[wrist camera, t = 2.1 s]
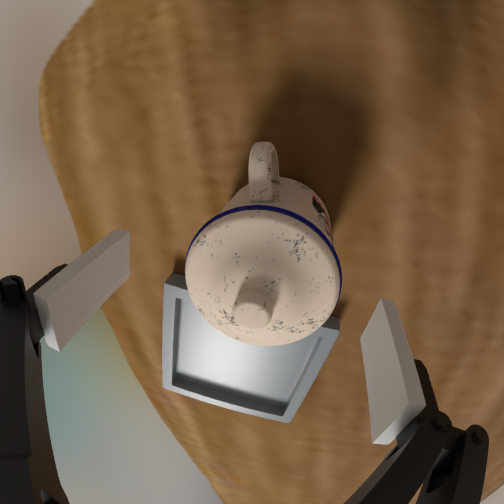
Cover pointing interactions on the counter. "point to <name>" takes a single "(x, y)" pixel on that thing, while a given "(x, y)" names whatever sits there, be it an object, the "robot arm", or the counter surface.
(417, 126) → the counter surface
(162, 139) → the counter surface
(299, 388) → the cup tray
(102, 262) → the robot arm
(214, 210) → the counter surface
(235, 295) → the teacup with lid
